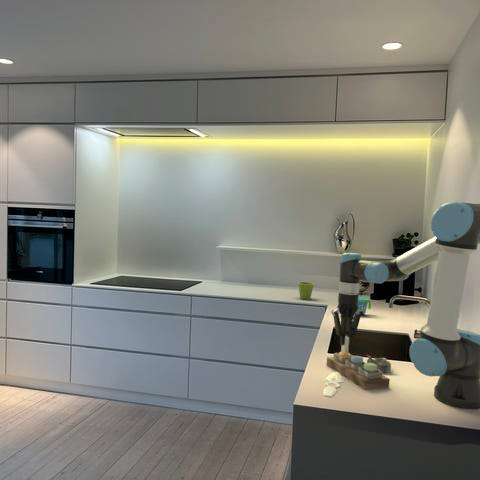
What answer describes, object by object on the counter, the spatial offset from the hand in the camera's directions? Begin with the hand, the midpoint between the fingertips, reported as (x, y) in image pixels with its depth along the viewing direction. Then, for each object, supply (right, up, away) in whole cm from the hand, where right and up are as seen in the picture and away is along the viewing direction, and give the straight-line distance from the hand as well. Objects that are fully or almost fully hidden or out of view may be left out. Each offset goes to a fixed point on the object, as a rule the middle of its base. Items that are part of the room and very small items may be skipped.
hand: (344, 353), depth 180 cm
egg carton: (+14, -7, +2) cm, 16 cm away
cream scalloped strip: (-8, -7, -16) cm, 19 cm away
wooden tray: (+3, -6, -8) cm, 10 cm away
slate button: (+3, -2, -8) cm, 9 cm away
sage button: (+5, -3, -16) cm, 17 cm away
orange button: (0, -3, 0) cm, 3 cm away
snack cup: (+32, -2, +102) cm, 107 cm away
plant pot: (+5, +2, +146) cm, 146 cm away
